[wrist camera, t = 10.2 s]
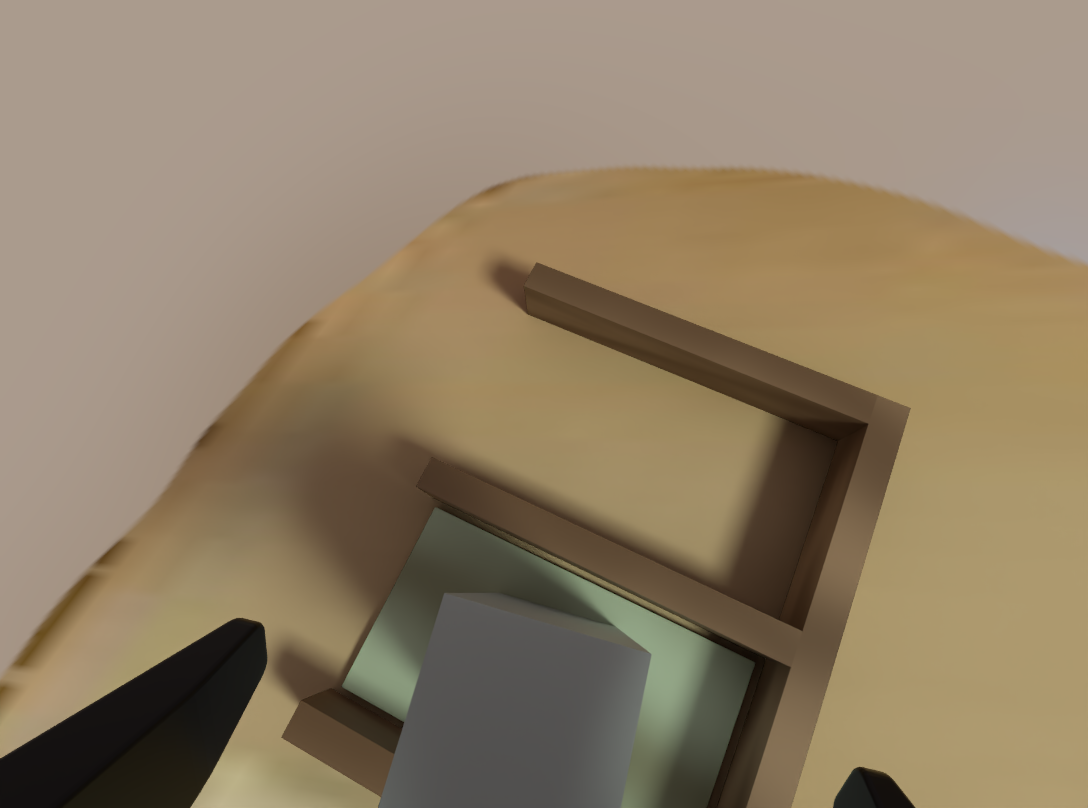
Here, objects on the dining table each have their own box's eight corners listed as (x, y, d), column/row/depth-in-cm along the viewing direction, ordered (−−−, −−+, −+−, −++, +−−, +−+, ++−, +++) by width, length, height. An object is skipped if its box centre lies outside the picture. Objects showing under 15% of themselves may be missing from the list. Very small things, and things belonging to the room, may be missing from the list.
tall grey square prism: (586, 760, 20) (599, 912, 10) (463, 720, 21) (370, 831, 11) (615, 626, 21) (651, 653, 12) (499, 592, 22) (444, 593, 12)
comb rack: (710, 952, 18) (731, 1005, 16) (314, 721, 21) (281, 737, 19) (876, 426, 23) (910, 408, 21) (539, 292, 26) (536, 262, 24)
